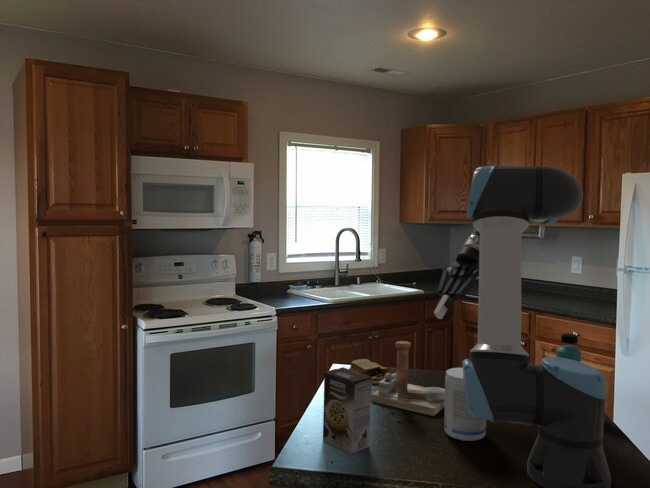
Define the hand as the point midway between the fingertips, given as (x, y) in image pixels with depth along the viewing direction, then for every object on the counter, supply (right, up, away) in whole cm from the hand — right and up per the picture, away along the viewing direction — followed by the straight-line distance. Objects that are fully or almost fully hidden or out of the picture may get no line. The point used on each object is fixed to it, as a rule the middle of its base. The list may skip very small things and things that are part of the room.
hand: (437, 315), depth 152 cm
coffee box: (-27, -25, -30) cm, 47 cm away
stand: (-7, -23, -2) cm, 24 cm away
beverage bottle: (+34, -24, -5) cm, 42 cm away
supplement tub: (+2, -25, -23) cm, 34 cm away
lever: (-6, -21, -6) cm, 23 cm away
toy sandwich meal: (-17, -22, +17) cm, 33 cm away
